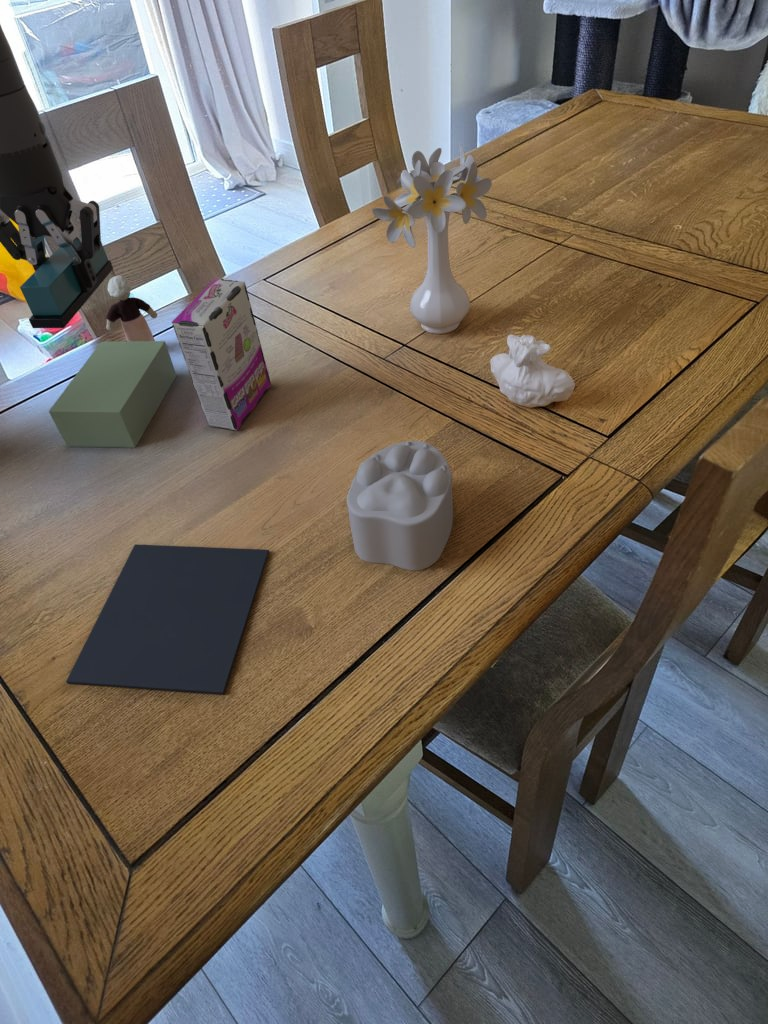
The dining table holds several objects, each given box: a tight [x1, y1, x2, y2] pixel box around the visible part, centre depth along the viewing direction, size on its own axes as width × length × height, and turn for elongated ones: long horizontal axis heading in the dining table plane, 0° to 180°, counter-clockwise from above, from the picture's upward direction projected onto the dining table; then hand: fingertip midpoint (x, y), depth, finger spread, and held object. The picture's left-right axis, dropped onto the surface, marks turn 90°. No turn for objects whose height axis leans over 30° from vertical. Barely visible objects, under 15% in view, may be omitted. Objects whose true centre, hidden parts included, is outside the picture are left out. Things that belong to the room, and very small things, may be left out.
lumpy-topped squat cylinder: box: [346, 440, 454, 572], centre depth 76 cm, size 10×13×9 cm
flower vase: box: [371, 141, 493, 335], centre depth 100 cm, size 13×18×25 cm
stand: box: [48, 340, 177, 449], centre depth 98 cm, size 10×17×6 cm, turn 173°
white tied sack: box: [489, 333, 576, 408], centre depth 90 cm, size 12×8×11 cm
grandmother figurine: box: [105, 275, 158, 341], centre depth 106 cm, size 8×4×13 cm, turn 130°
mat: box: [65, 544, 270, 696], centre depth 73 cm, size 16×18×1 cm
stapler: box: [19, 233, 114, 329], centre depth 85 cm, size 15×4×5 cm, turn 173°
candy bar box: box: [171, 278, 272, 432], centre depth 92 cm, size 11×5×16 cm, turn 161°
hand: (72, 288), depth 86 cm, fingers closed on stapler, 4 cm apart
